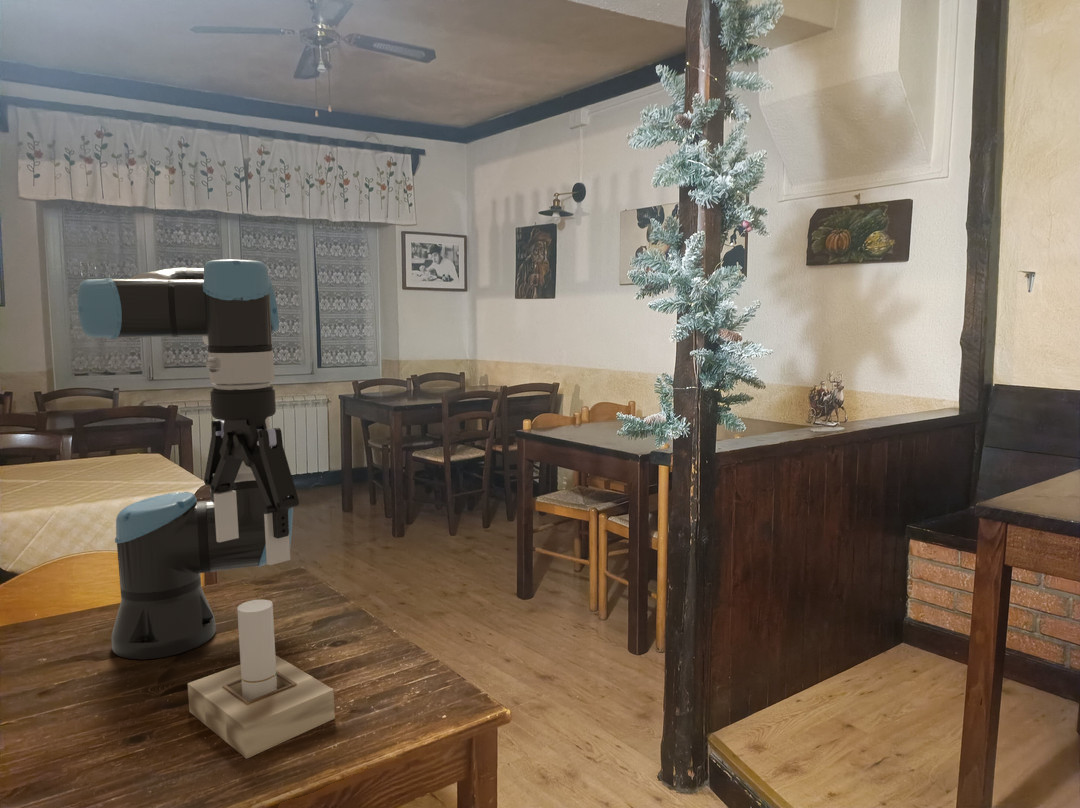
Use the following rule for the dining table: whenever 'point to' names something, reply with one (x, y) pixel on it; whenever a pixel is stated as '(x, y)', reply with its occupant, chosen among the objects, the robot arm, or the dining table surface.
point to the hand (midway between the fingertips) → (252, 550)
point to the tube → (257, 648)
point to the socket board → (261, 707)
